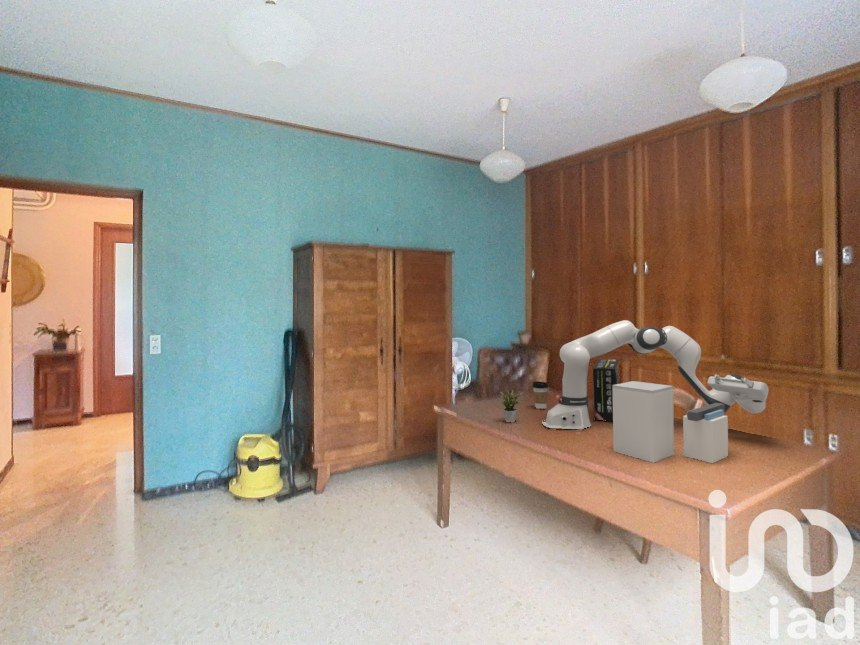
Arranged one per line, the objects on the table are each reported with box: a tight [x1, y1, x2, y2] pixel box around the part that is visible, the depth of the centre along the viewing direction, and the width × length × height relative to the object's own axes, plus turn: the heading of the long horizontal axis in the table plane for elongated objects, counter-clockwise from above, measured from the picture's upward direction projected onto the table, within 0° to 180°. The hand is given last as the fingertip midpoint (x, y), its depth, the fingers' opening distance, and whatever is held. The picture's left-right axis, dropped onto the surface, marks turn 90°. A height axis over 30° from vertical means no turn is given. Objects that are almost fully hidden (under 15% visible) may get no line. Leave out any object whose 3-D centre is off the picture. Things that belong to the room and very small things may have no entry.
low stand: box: [682, 407, 729, 464], centre depth 166 cm, size 12×10×17 cm
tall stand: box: [612, 380, 675, 463], centre depth 171 cm, size 14×16×26 cm
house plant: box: [498, 389, 524, 421], centre depth 222 cm, size 14×14×16 cm
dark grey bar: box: [687, 403, 726, 421], centre depth 166 cm, size 22×3×3 cm, turn 124°
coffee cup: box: [532, 380, 549, 409], centre depth 249 cm, size 8×8×15 cm
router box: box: [592, 358, 620, 422], centre depth 234 cm, size 36×11×27 cm, turn 156°
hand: (729, 377), depth 177 cm, fingers open, 8 cm apart
